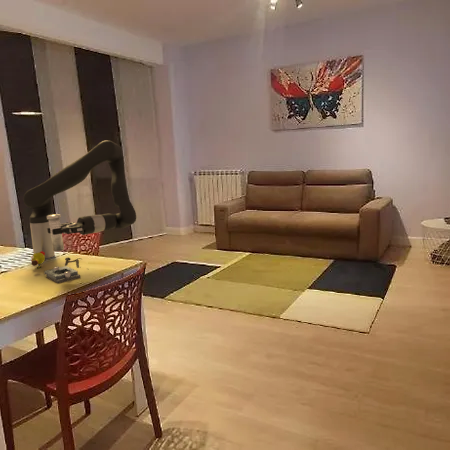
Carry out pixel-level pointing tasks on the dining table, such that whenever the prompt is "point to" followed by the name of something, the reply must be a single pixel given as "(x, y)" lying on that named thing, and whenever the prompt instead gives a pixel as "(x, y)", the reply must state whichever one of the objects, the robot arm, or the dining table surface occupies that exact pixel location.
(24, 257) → the dining table surface
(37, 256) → the toy figure
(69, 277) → the chain end lower
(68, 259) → the hacksaw
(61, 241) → the steel pin
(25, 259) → the dining table surface
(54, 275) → the chain end upper
